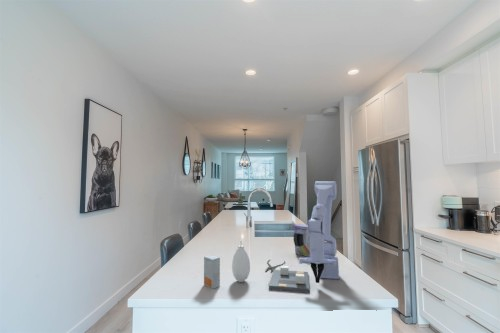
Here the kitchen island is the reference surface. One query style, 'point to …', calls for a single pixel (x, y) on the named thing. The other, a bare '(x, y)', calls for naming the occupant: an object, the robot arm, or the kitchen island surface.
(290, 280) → the panel
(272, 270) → the pliers
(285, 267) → the far tab
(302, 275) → the white rectangular block
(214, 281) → the skincare box
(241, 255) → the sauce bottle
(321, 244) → the robot arm
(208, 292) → the kitchen island surface
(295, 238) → the cake pan box
